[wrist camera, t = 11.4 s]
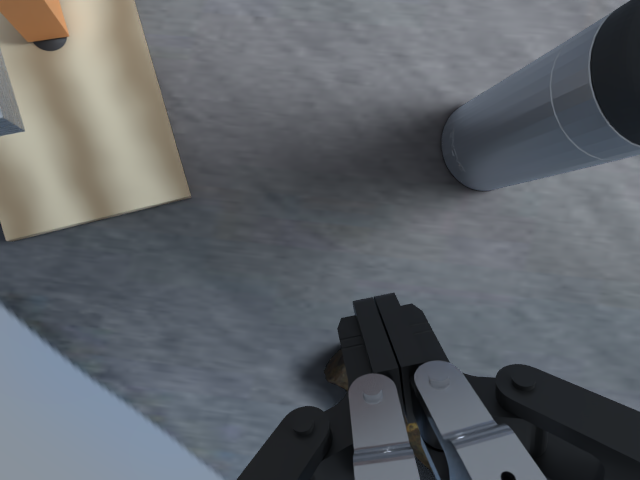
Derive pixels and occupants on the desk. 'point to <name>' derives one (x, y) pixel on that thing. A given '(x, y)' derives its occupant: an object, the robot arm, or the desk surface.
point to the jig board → (85, 124)
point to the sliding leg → (35, 18)
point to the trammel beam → (8, 104)
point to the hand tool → (339, 376)
